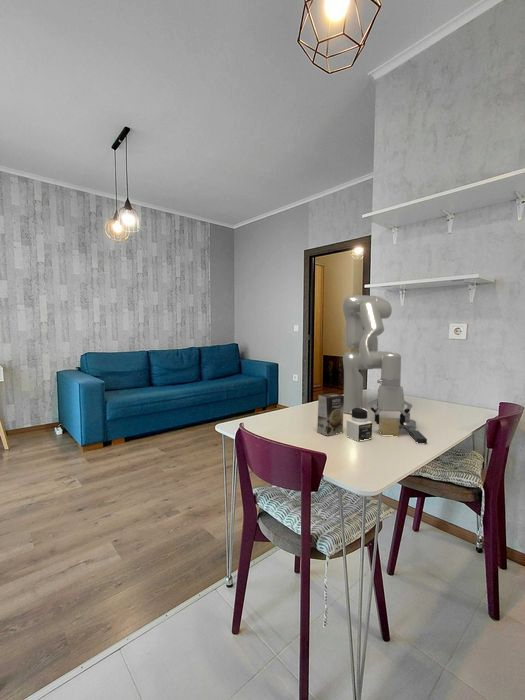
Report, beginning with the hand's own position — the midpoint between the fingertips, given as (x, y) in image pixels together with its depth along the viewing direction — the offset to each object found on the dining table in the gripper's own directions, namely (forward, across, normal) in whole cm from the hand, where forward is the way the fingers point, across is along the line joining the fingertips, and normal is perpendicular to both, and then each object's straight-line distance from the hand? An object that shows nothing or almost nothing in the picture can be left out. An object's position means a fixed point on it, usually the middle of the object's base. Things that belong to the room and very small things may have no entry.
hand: (389, 423), depth 138 cm
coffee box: (+5, -24, -1) cm, 25 cm away
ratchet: (+4, +10, +4) cm, 11 cm away
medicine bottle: (+5, -13, -6) cm, 15 cm away
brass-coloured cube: (+4, 0, +1) cm, 5 cm away
